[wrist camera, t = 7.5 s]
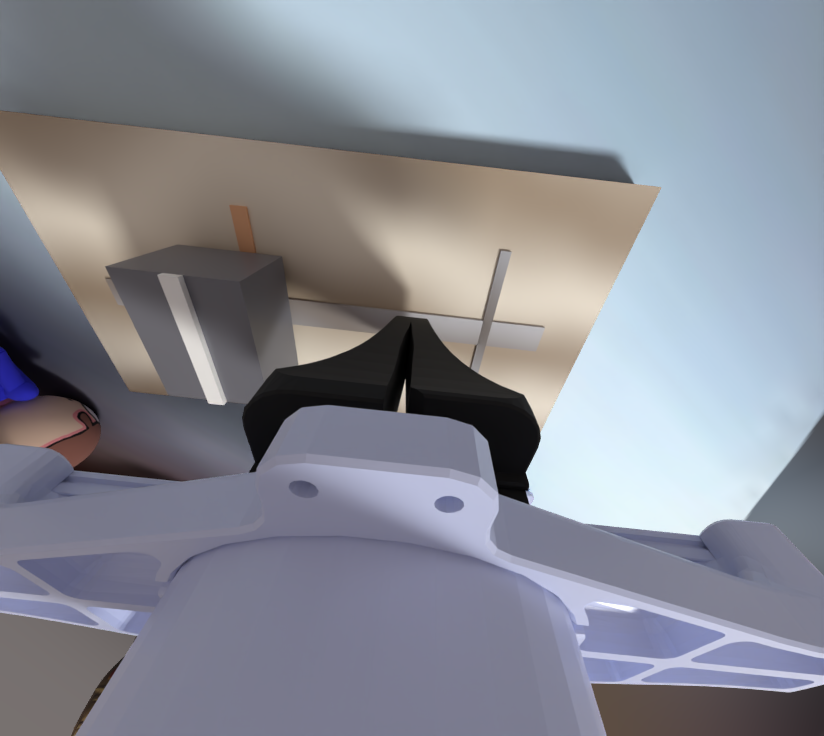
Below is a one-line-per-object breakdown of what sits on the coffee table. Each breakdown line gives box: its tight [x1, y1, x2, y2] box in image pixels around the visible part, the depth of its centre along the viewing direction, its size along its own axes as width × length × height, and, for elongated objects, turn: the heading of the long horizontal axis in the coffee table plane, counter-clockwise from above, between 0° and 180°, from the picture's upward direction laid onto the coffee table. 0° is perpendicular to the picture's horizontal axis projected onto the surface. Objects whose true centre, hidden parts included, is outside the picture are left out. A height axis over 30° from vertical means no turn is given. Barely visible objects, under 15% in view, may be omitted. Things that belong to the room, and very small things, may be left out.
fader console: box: [0, 111, 661, 432], centre depth 14 cm, size 12×23×2 cm, turn 85°
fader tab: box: [105, 244, 298, 405], centre depth 11 cm, size 5×4×3 cm
